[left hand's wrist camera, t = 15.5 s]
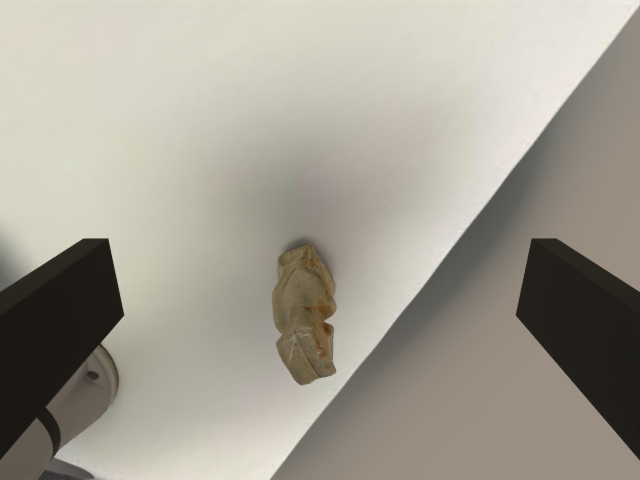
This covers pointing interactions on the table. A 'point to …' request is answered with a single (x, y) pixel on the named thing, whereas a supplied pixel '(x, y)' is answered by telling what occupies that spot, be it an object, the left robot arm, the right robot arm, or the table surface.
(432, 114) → the table surface
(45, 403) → the left robot arm
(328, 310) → the sculpture
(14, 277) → the table surface
